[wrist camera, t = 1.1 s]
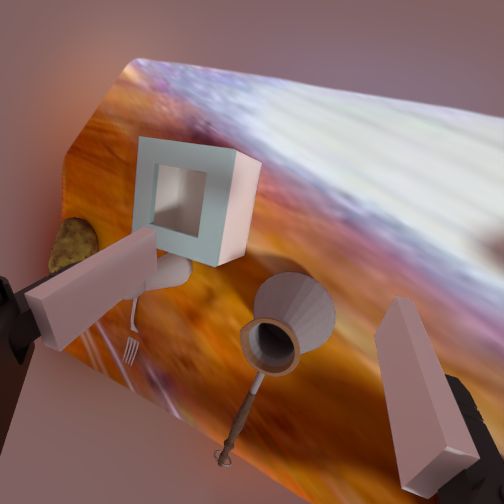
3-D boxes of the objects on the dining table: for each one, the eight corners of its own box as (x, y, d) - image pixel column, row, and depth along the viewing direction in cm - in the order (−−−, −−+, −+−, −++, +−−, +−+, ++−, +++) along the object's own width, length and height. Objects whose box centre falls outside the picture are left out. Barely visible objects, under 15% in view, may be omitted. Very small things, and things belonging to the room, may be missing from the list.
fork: (148, 252, 48) (141, 254, 46) (139, 362, 54) (132, 367, 52) (135, 248, 49) (128, 249, 47) (127, 356, 55) (120, 361, 53)
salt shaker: (166, 255, 46) (98, 271, 34) (190, 245, 43) (126, 258, 32) (177, 285, 46) (114, 312, 34) (201, 277, 44) (143, 302, 32)
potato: (107, 222, 50) (65, 224, 43) (105, 283, 53) (65, 294, 46) (79, 215, 53) (35, 215, 46) (79, 272, 56) (37, 282, 49)
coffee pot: (275, 255, 38) (227, 280, 24) (351, 288, 34) (346, 339, 21) (233, 367, 44) (176, 438, 30) (295, 405, 40) (262, 505, 27)
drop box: (244, 255, 40) (214, 267, 32) (173, 234, 45) (131, 239, 36) (261, 162, 36) (233, 149, 28) (182, 150, 41) (139, 136, 33)
